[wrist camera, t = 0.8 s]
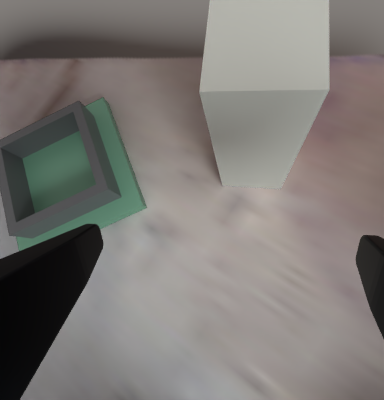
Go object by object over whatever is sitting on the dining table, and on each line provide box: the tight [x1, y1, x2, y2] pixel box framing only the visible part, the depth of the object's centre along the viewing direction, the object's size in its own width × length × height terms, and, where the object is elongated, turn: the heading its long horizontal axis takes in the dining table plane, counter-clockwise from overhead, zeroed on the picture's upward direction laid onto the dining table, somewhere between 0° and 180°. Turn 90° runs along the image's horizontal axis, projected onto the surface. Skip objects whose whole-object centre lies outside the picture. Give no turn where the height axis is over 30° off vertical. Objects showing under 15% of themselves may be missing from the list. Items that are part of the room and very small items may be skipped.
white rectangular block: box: [199, 0, 329, 189], centre depth 17 cm, size 5×5×13 cm
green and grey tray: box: [0, 98, 147, 251], centre depth 24 cm, size 12×12×4 cm
